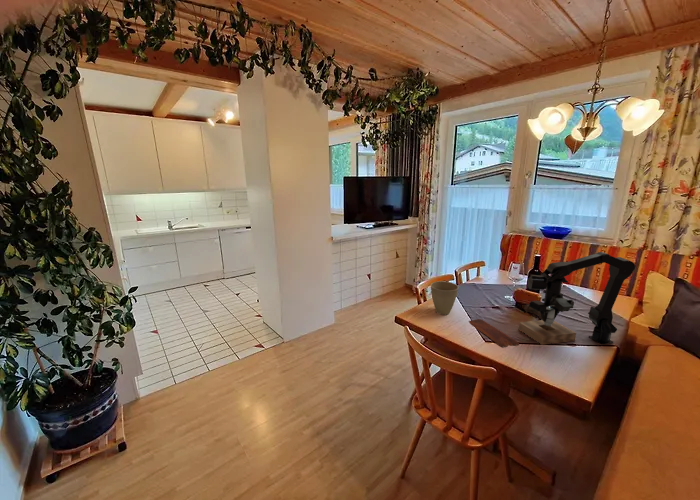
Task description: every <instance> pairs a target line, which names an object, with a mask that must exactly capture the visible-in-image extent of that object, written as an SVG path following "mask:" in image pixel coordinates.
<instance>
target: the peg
mask: <svg viewBox="0 0 700 500" xmlns="http://www.w3.org/2000/svg"><path fill="white" fill-rule="evenodd" d="M548 310H550V312H548V314H547V319H546V322H544V321H543V322H544V325H546V326H551V324H553V320H554V321H555V319H554V315H555V309H553V308H550V307H549V309H548Z"/></svg>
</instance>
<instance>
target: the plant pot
mask: <svg viewBox="0 0 700 500" xmlns="http://www.w3.org/2000/svg"><path fill="white" fill-rule="evenodd" d="M459 288H460V287H459V286H458V285H457V283H453V282H452V281H451V282H450V281H442V280H441V281H440V280H439V281H434V282H432V283H430V291H431V298H432V302H433V306H434V308H435V311H436V313H437V314H439V315H443V316H444V315H449V314H450V313H451V311H452V309H453V306H454V305H455V302H456V299H457V296H458V291H459Z"/></svg>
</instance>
